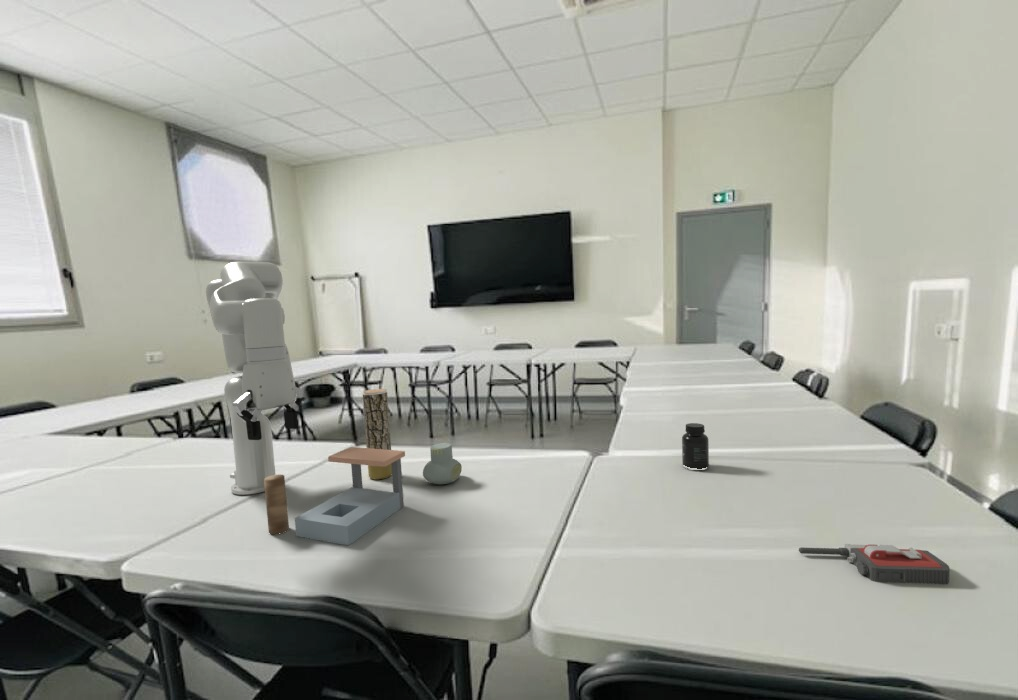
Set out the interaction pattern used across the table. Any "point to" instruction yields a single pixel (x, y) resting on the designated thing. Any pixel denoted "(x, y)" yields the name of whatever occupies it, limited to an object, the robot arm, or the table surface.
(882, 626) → the table surface
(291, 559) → the table surface
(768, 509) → the table surface
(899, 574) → the walkie-talkie
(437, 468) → the air freshener
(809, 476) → the table surface
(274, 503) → the peg
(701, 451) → the supplement bottle
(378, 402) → the bark textured cylinder
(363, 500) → the socket deck
